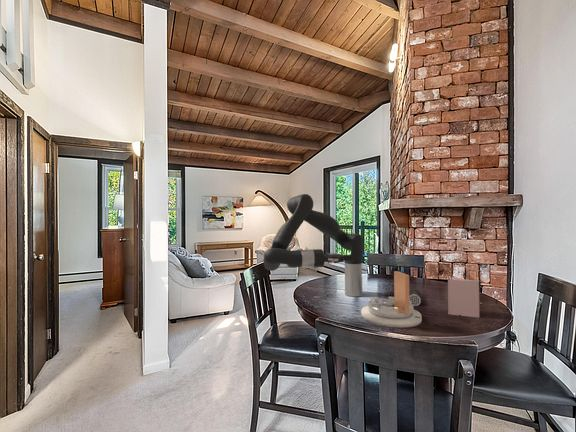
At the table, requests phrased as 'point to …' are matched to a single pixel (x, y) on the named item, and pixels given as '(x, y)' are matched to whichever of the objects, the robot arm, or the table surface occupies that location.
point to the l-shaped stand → (394, 300)
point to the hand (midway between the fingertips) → (351, 257)
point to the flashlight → (414, 294)
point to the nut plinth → (387, 322)
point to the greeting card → (463, 297)
